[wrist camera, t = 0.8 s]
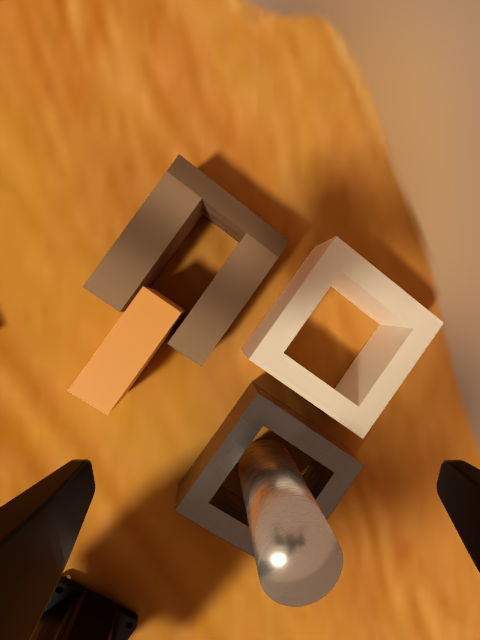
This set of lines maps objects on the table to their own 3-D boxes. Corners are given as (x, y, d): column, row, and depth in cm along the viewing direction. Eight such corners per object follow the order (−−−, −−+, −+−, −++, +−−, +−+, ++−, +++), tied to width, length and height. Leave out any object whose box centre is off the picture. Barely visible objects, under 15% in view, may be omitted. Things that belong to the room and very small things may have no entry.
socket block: (277, 544, 21) (287, 576, 19) (178, 485, 20) (174, 510, 18) (345, 446, 21) (364, 465, 19) (251, 382, 20) (258, 393, 18)
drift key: (125, 394, 19) (107, 415, 16) (93, 374, 19) (67, 390, 15) (185, 310, 19) (181, 312, 16) (154, 289, 19) (143, 286, 15)
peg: (270, 500, 21) (309, 620, 13) (227, 473, 20) (240, 582, 13) (301, 456, 21) (359, 549, 13) (259, 428, 21) (292, 508, 13)
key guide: (201, 356, 20) (201, 366, 17) (102, 289, 19) (82, 286, 16) (277, 250, 20) (290, 241, 17) (183, 177, 19) (179, 154, 16)
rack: (337, 416, 21) (363, 439, 18) (241, 349, 20) (248, 359, 17) (405, 319, 21) (443, 322, 18) (314, 247, 20) (336, 235, 17)
